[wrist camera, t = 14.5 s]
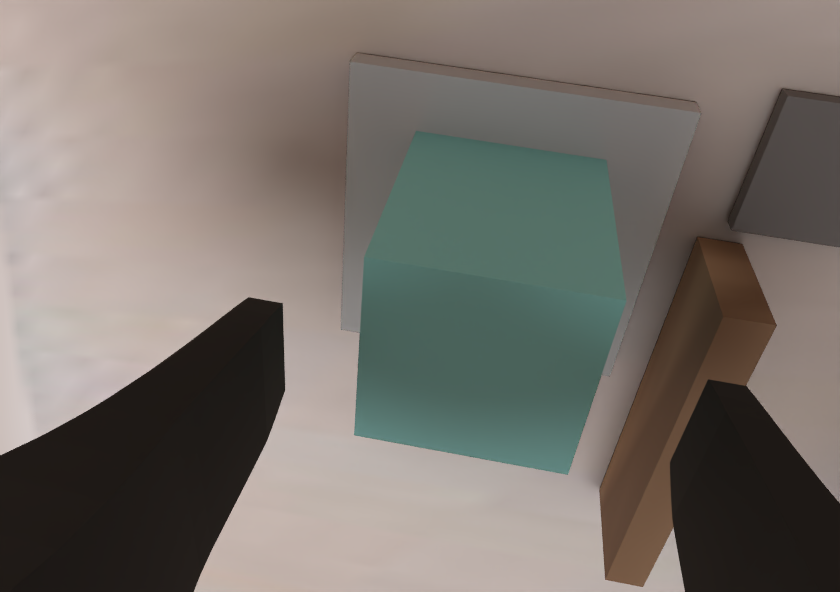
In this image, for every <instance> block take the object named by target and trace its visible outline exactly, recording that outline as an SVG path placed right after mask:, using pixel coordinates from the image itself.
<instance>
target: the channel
mask: <svg viewBox="0 0 840 592" xmlns="http://www.w3.org/2000/svg"><path fill="white" fill-rule="evenodd" d="M776 326H777V325H776V323H775V320H774V318H773V316H772V313H771V311H770V308H769V306H768V304H767V301H766V299H765V297H764V294H763V292H762V289H761V287H760V285H759V282H758V280H757V277H756V275H755V273H754V270H753V268H752V266H751V263H750V261H749V258H748V256H747V254H746V251H745V249H744V246H743V244H739V243H733V242H726V241H720V240H714V239H707V238H701V237H697V240H696V242H695V245H694V247H693V250H692V252H691V255H690V258H689V260H688V263H687V265H686V268H685V271H684V273H683V276H682V278H681V281H680V283H679V286H678V289H677V291H676V294H675V296H674V299H673V302H672V304H671V307H670V309H669V312H668V314H667V317H666V320H665V322H664V325H663V327H662V330H661V332H660V335H659V338H658V340H657V343H656V345H655V348H654V351H653V353H652V356H651V358H650V361H649V363H648V366H647V369H646V371H645V374H644V376H643V379H642V382H641V384H640V387H639V389H638V392H637V394H636V397H635V400H634V402H633V405H632V407H631V410H630V413H629V415H628V418H627V420H626V423H625V425H624V428H623V431H622V433H621V436H620V438H619V441H618V444H617V446H616V449H615V451H614V454H613V456H612V459H611V462H610V464H609V467H608V469H607V472H606V475H605V477H604V480H603V482H602V485H601V487H600V490H599V491H600V506H601V521H602V537H603V552H604V568H605V580H610V581H615V582H620V583H625V584H630V585H635V586H640V587H643V586H644V584H645V582H646V580H647V578H648V576H649V574H650V572H651V570H652V568H653V566H654V564H655V562H656V560H657V558H658V556H659V554H660V552H661V551H662V549H663V547H664V545H665V543H666V541H667V539H668V537H669V535H670V533H671V531H672V529H673V527H674V526H673V520H672V506H671V486H670V460H671V458H672V456H673V454H674V452H675V450H676V448H677V445H678V443H679V441H680V439H681V437H682V435H683V432H684V430H685V428H686V426H687V424H688V422H689V419H690V417H691V415H692V413H693V411H694V409H695V406H696V404H697V402H698V400H699V398H700V396H701V393H702V391H703V389H704V387H705V385H706V383H707V380H708V379H710V380H716V381H721V382H727V383H732V384H738V385H744V386H746V384H747V382H748V381H749V379H750V377H751V375H752V373H753V371H754V369H755V367H756V365H757V363H758V361H759V359H760V357H761V355H762V353H763V351H764V349H765V347H766V345H767V343H768V341H769V339H770V338H771V336H772V334H773V332H774V330H775V328H776Z"/></svg>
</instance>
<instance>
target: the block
mask: <svg viewBox="0 0 840 592" xmlns="http://www.w3.org/2000/svg"><path fill="white" fill-rule="evenodd" d="M626 301H627V300H626V293H625V286H624V279H623V272H622V265H621V258H620V251H619V244H618V237H617V230H616V223H615V216H614V209H613V202H612V195H611V188H610V181H609V174H608V167H607V160H604V159H597V158H591V157H584V156H578V155H571V154H565V153H558V152H552V151H545V150H538V149H532V148H525V147H519V146H512V145H506V144H499V143H493V142H486V141H479V140H473V139H466V138H460V137H453V136H447V135H440V134H434V133H427V132H420V131H416V132H415V135H414V137H413V140H412V142H411V144H410V147H409V149H408V152H407V154H406V157H405V159H404V161H403V164H402V166H401V169H400V171H399V173H398V176H397V178H396V181H395V183H394V186H393V188H392V190H391V193H390V195H389V198H388V200H387V203H386V205H385V207H384V210H383V212H382V215H381V217H380V219H379V222H378V224H377V227H376V229H375V232H374V234H373V236H372V239H371V241H370V244H369V246H368V249H367V251H366V253H365V256H364V267H363V285H362V303H361V321H360V340H359V358H358V376H357V394H356V413H355V431H354V435H356V436H361V437H367V438H372V439H377V440H383V441H388V442H394V443H399V444H404V445H410V446H415V447H421V448H426V449H432V450H437V451H442V452H448V453H453V454H459V455H464V456H469V457H475V458H480V459H486V460H491V461H496V462H502V463H507V464H513V465H518V466H523V467H529V468H534V469H540V470H545V471H551V472H556V473H561V474H567V475H568V473H569V470H570V467H571V464H572V461H573V458H574V455H575V452H576V449H577V446H578V443H579V440H580V437H581V434H582V431H583V428H584V425H585V422H586V419H587V416H588V413H589V411H590V408H591V405H592V402H593V399H594V396H595V393H596V390H597V387H598V384H599V381H600V378H601V375H602V372H603V369H604V366H605V363H606V360H607V357H608V354H609V351H610V348H611V345H612V342H613V339H614V337H615V334H616V331H617V328H618V325H619V322H620V319H621V316H622V313H623V310H624V307H625V304H626Z"/></svg>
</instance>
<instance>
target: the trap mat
mask: <svg viewBox="0 0 840 592" xmlns="http://www.w3.org/2000/svg"><path fill="white" fill-rule="evenodd" d="M728 223H729V225H730V228H731V230H732V231H739V232H745V233H751V234H758V235H764V236H770V237H777V238H783V239H789V240H796V241H802V242H808V243H815V244H821V245H827V246H834V247H840V97H836V96H829V95H822V94H815V93H808V92H801V91H794V90H787V89H782V91H781V93H780V96H779V98H778V101H777V103H776V105H775V108H774V110H773V113H772V115H771V118H770V120H769V122H768V125H767V127H766V130H765V132H764V135H763V137H762V139H761V142H760V144H759V147H758V149H757V152H756V154H755V156H754V159H753V161H752V164H751V166H750V169H749V171H748V173H747V176H746V178H745V181H744V183H743V186H742V188H741V191H740V193H739V195H738V198H737V200H736V203H735V205H734V208H733V210H732V212H731V215H730V217H729V220H728Z"/></svg>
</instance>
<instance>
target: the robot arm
mask: <svg viewBox="0 0 840 592" xmlns="http://www.w3.org/2000/svg"><path fill="white" fill-rule="evenodd" d="M284 392H285V370H284V335H283V303H277V302H272V301H266V300H260V299H255V298H249V297H248V298H247V299H246V300H244V301H243V302H241V303H240V304H239V305H237V306H236V307H235V308H233V309H232V310H231V311H229V312H228V313H227V314H225V315H224V316H223V317H222V318H220V319H219V320H218V321H216V322H215V323H214V324H212V325H211V326H210V327H209V328H207V329H206V330H205V331H203V332H202V333H201V334H199V335H198V336H197V337H195V338H194V339H193V340H191V341H190V342H189V343H188V344H186V345H185V346H183V347H182V348H181V349H179V350H178V351H177V352H175V353H174V354H172V355H171V356H170V357H168V358H167V359H166V360H164V361H163V362H161V363H160V364H159V365H157V366H156V367H154V368H153V369H152V370H150V371H149V372H147V373H146V374H144V375H143V376H141V377H140V378H138V379H137V380H135V381H134V382H132V383H131V384H129V385H128V386H126V387H124V388H123V389H121V390H120V391H118V392H117V393H115V394H114V395H112V396H111V397H109V398H108V399H106V400H104V401H103V402H101V403H100V404H98V405H96V406H95V407H93V408H91V409H90V410H88V411H86V412H84V413H83V414H81V415H79V416H77V417H76V418H74V419H72V420H70V421H68V422H66V423H65V424H63V425H61V426H59V427H57V428H55V429H54V430H52V431H50V432H48V433H46V434H44V435H42V436H40V437H38V438H36V439H34V440H32V441H30V442H28V443H26V444H24V445H21V446H20V447H17V448H15V449H13V450H11V451H9V452H7V453H5V454H3V455H0V592H194V589H195V587H196V584H197V582H198V579H199V577H200V574H201V572H202V570H203V568H204V565H205V563H206V561H207V559H208V557H209V555H210V552H211V550H212V548H213V546H214V544H215V542H216V540H217V538H218V536H219V534H220V532H221V531H222V529H223V527H224V525H225V523H226V521H227V519H228V517H229V515H230V513H231V511H232V509H233V507H234V505H235V503H236V501H237V499H238V497H239V495H240V493H241V491H242V489H243V487H244V486H245V484H246V482H247V480H248V478H249V476H250V474H251V472H252V470H253V468H254V466H255V464H256V462H257V460H258V458H259V456H260V454H261V452H262V450H263V448H264V446H265V444H266V442H267V439H268V437H269V434H270V431H271V429H272V426H273V423H274V420H275V418H276V415H277V412H278V409H279V406H280V403H281V400H282V397H283V395H284ZM670 486H671V506H672V520H673V526H674V532H675V538H676V544H677V549H678V555H679V561H680V566H681V572H682V577H683V582H684V588H685V592H840V503H839V502H838V501H837V500H836V499H835V497H834V496H833V495H832V494H831V493H830V491H829V490H828V489H827V488H826V487H825V485H824V484H823V483H822V482H821V480H820V479H819V478H818V477H817V475H816V474H815V473H814V472H813V471H812V469H811V468H810V467H809V466H808V464H807V463H806V462H805V460H804V459H803V458H802V457H801V455H800V454H799V453H798V452H797V450H796V449H795V448H794V446H793V445H792V444H791V443H790V441H789V440H788V439H787V437H786V436H785V435H784V434H783V432H782V431H781V430H780V428H779V427H778V426H777V424H776V423H775V422H774V421H773V419H772V418H771V417H770V415H769V414H768V413H767V411H766V410H765V409H764V408H763V406H762V405H761V404H760V402H759V401H758V400H757V399H756V397H755V396H754V395H753V394H752V392H751V391H750V390H749V389H748V388H747V386H744V385H738V384H732V383H727V382H721V381H716V380H710V379H708V380H707V383H706V385H705V387H704V389H703V391H702V393H701V396H700V398H699V400H698V402H697V404H696V406H695V409H694V411H693V413H692V415H691V417H690V419H689V422H688V424H687V426H686V428H685V430H684V432H683V435H682V437H681V439H680V441H679V443H678V445H677V448H676V450H675V452H674V454H673V456H672V458H671V460H670Z"/></svg>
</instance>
